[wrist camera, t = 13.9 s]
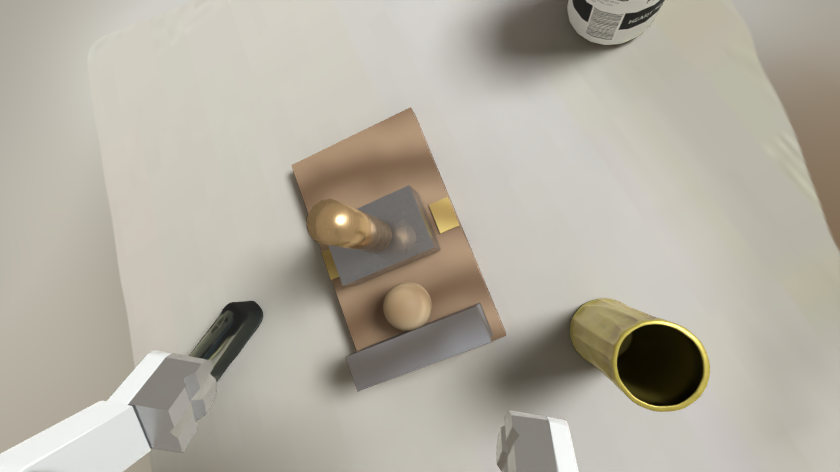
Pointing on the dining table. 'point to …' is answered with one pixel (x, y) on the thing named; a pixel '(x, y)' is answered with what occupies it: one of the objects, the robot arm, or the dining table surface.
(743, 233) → the dining table surface
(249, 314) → the mobile phone
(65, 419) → the robot arm
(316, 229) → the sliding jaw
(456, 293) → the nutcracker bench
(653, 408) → the vase
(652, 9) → the supplement can
